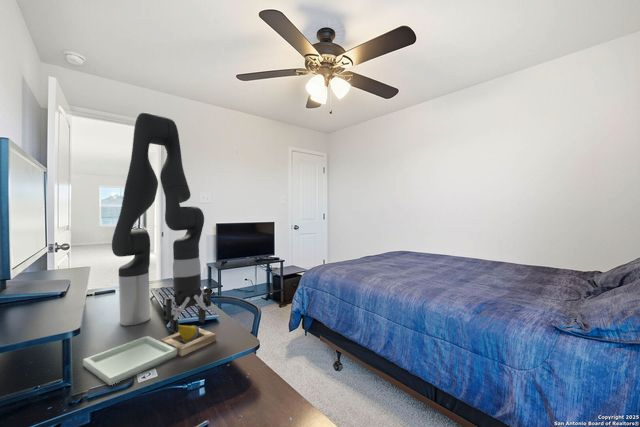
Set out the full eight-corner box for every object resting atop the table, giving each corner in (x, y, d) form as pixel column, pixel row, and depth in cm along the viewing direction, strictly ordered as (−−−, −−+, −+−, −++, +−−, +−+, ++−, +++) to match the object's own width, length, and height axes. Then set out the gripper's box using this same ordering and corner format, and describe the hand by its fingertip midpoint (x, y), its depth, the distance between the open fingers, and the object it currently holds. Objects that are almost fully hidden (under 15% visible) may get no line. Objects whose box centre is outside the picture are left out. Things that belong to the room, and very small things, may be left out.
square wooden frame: (160, 346, 85) (160, 339, 85) (194, 332, 94) (194, 326, 94) (182, 356, 79) (181, 349, 79) (215, 340, 88) (215, 333, 88)
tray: (83, 366, 75) (83, 359, 75) (147, 341, 88) (147, 335, 88) (110, 386, 66) (110, 378, 66) (177, 355, 80) (177, 349, 80)
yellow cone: (203, 344, 87) (179, 330, 81) (189, 350, 88) (164, 336, 82) (206, 327, 91) (183, 313, 85) (193, 333, 92) (169, 320, 86)
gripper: (200, 267, 94) (202, 316, 95) (156, 276, 82) (158, 332, 83) (215, 269, 90) (216, 321, 90) (170, 279, 78) (172, 338, 79)
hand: (188, 326), depth 87 cm, fingers open, 8 cm apart
